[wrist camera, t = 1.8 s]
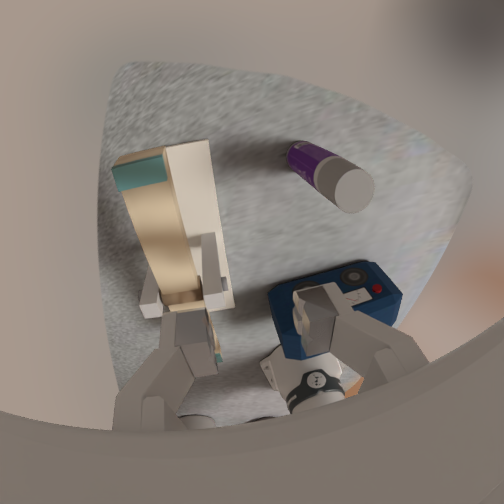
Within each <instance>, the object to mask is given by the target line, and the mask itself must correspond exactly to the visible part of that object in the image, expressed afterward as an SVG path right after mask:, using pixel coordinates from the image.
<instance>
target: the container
mask: <svg viewBox="0 0 504 504" xmlns="http://www.w3.org/2000/svg"><path fill="white" fill-rule="evenodd" d="M286 159H287V163H288V165H289V167H290V168H291V169H292V170H294V171H295V172H296V173H297V174H298V175H300V176H301V177H302V178H303V179H304V180H306V181H307V182H308V183H309V184H310V185H311V186H313V187H314V188H315V189H316V190H317V191H318V192H319V193H321V194H322V195H323V196H325V197H326V198H327V199H328V200H330V201H331V202H332V203H333V204H335V205H336V206H337V207H338V208H339V209H341V210H342V211H344V212H346V213H357V212H360V211H362V210H363V209H365V208H366V207H367V206H368V205H369V203H370V202H371V200H372V198H373V195H374V190H375V186H374V181H373V178H372V177H371V175H370V174H369V173H368V172H366V171H365V170H363V169H361V168H360V167H358V166H356V165H355V164H353V163H351V162H349V161H347V160H346V159H344V158H342V157H340V156H338V155H336V154H334V153H332V152H330V151H328V150H325V149H323V148H321V147H319V146H317V145H314V144H312V143H310V142H307V141H298V142H296V143H294V144H292V145H291V146H290V148H289V149H288V151H287V155H286Z"/></svg>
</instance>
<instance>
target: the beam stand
mask: <svg viewBox="0 0 504 504" xmlns="http://www.w3.org/2000/svg"><path fill="white" fill-rule="evenodd" d="M165 148H166V152H167V157H168V162H169V166H170V171H171V175H172V179H173V184H174V188H175V192H176V196H177V201H178V205H179V209H180V213H181V217H182V221H183V224H184V228H185V232H186V236H187V239H188V243H189V247H190V250H191V254H192V258H193V261H194V265H195V268H196V272H197V275H200V277H201V281H202V285H203V297H204V301H205V304H206V308H207V310H208V311H209V312H212V311H218V310H224V309H230V308H235V303H234V298H233V292H232V287H231V281H230V275H229V270H228V264H227V258H226V252H225V246H224V240H223V234H222V228H221V222H220V215H219V209H218V203H217V196H216V190H215V183H214V176H213V170H212V163H211V156H210V149H209V141H208V139H204V140H198V141H193V142H187V143H182V144H177V145H172V146H167V147H165ZM138 298H139V302H140V304H139V306H140V308H141V311H142V313H143V315H144V317H145V319H147V318H154V317H162V314H163V305H164V303H163V301H162V297H161V292H160V288H159V286H158V283H157V281H156V279H155V277H154V274H153V272H152V270H151V267H150V265H148V269H147V273H146V277H145V281H144V286H143V290H139V291H138Z"/></svg>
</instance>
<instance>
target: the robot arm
mask: <svg viewBox="0 0 504 504" xmlns="http://www.w3.org/2000/svg"><path fill="white" fill-rule="evenodd" d="M293 301H294V303H295V307H294V308H293V319H294V324H295V328H296V330H297V333H298V334H300V335H301V343H302V346H303V348H304V351H305V353H306V356H311V355H316V354H320V353H324V352H328V351H330V352H328V353H325V354H322V355H319V356H316V357H312V358H309V359H306V360H302V361H300V360H293V359H287V358H285V355H284V352H283V349H282V346H281V345H280V346H279V347H278V348H276V349H275V350H274V352H273V353H272V354H271V355H270V356H268V357H267V358H265V359H263V360H262V361H261V362H260V366H261V368H262V370H263V372H264V374H265V375H266V377H267V379H268V381H269V383H270V385H271V386H272V388H273V390H274V391H279V392H280V394H281V396H282V398H283V399H284V401H286V403H287V407H288V410H289V411H290V414H289V415H285V416H281V417H276V418H271V419H267V420H261V421H256V422H250V423H244V424H238V425H231V426H224V427H216V428H207V429H196V430H188V429H187V428H186V426H185V425H184V424H183V423H182V422H181V420H180V419H179V418H178V417H177V415H176V413H177V411H178V409H179V407H180V405H181V404H182V402H183V400H184V398H185V396H186V394H187V393H188V391H189V389H190V387H191V385H192V383H193V382H194V380H195V378H196V377H203V376H209V375H215V374H218V367H217V358H216V355H215V352H214V351H215V349H216V348H215V340H214V334H213V330H212V326H211V324H210V323H209V316H208V312H207V309H206V307H202V308H194V309H187V310H179V311H173V312H164V313H163V315H162V321H161V331H160V341H159V349H154V351H153V352H152V353H151V354H150V356H149V357H148V358H147V359H146V360H145V362H144V363H143V364H142V365H141V366H140V368H139V369H138V370H137V371H136V373H135V374H134V375H133V376H132V377H131V379H130V380H129V381H128V382H127V384H126V385H125V386H124V387H123V388H122V390H121V391H120V392H119V393H118V395H117V396H116V400H115V408H114V418H113V427H112V430H98V429H88V428H79V427H72V426H65V425H59V424H53V423H48V422H42V421H38V420H33V419H29V418H25V417H21V416H17V415H13V414H9V413H6V412H3V411H0V504H504V318H502V319H501V320H499V321H498V322H497V323H495V324H494V325H492V326H491V327H489V328H488V329H487V330H485V331H484V332H482V333H481V334H479V335H478V336H476V337H474V338H473V339H471V340H470V341H468V342H467V343H465V344H463V345H461V346H460V347H458V348H456V349H455V350H453V351H451V352H450V353H448V354H446V355H444V356H442V357H440V358H439V359H437V360H435V361H433V362H431V363H429V361H428V360H427V358H426V357H425V355H424V354H423V353H422V351H421V349H420V348H419V346H418V345H417V343H416V342H415V341H414V339H413V338H412V337H411V336H409V335H407V334H405V333H403V332H401V331H398V330H397V329H395V328H393V327H391V326H388V325H386V324H384V323H382V322H380V321H378V320H376V319H374V318H372V317H370V316H368V315H366V314H364V313H362V312H360V311H354V310H353V309H352V307H351V306H350V304H349V302H348V301H347V299H346V298H345V296H344V295H343V293H342V292H341V290H340V289H339V287H338V286H337V284H336V283H335V282H331V283H327V284H323V285H319V286H315V287H310V288H306V289H301V290H296V291H294V292H293ZM337 358H338V359H339V360H340V361H342V362H343V363H345V364H346V365H347V366H349V367H350V368H351V369H353V370H354V371H356V372H357V373H358V374H360V375H361V376H362V377H364V381H363V383H362V385H361V387H360V389H359V391H358V394H357V395H354V396H352V397H349V398H346V399H345V398H344V395H345V392H344V389H343V386H342V384H341V383H340V380H339V377H340V375H341V373H342V370H341V367H340V365H339V362H338V359H337Z"/></svg>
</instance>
